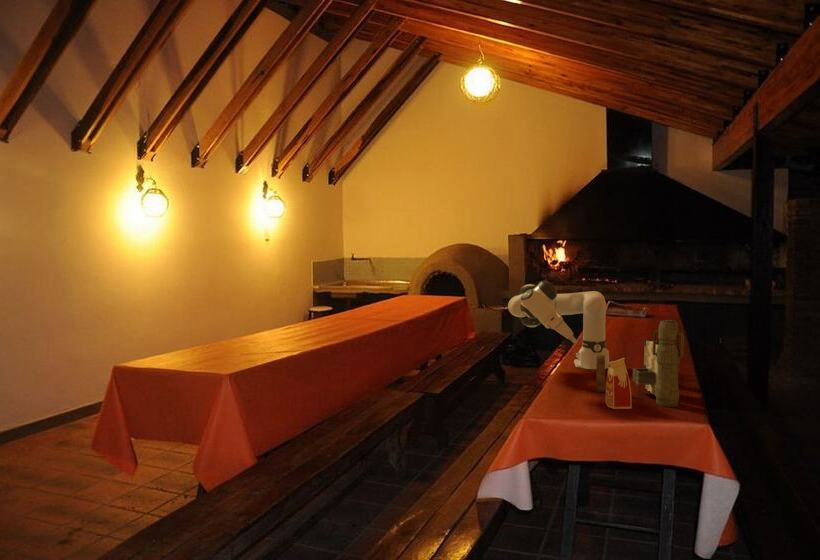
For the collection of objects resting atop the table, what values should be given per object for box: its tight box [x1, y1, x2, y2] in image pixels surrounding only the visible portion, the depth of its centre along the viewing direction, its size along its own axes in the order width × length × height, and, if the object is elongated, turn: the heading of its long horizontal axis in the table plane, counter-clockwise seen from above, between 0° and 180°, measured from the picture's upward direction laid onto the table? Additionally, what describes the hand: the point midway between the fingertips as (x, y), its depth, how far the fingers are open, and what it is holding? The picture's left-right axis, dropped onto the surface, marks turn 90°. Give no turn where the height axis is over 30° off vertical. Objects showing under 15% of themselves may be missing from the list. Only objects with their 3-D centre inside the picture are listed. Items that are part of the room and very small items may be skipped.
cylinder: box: [595, 355, 606, 393], centre depth 286 cm, size 4×4×16 cm
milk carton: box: [605, 357, 633, 410], centre depth 263 cm, size 9×9×20 cm
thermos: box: [652, 318, 685, 408], centre depth 263 cm, size 9×12×35 cm
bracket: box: [632, 341, 658, 397], centre depth 280 cm, size 16×9×22 cm, turn 1°
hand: (573, 340), depth 285 cm, fingers open, 8 cm apart
